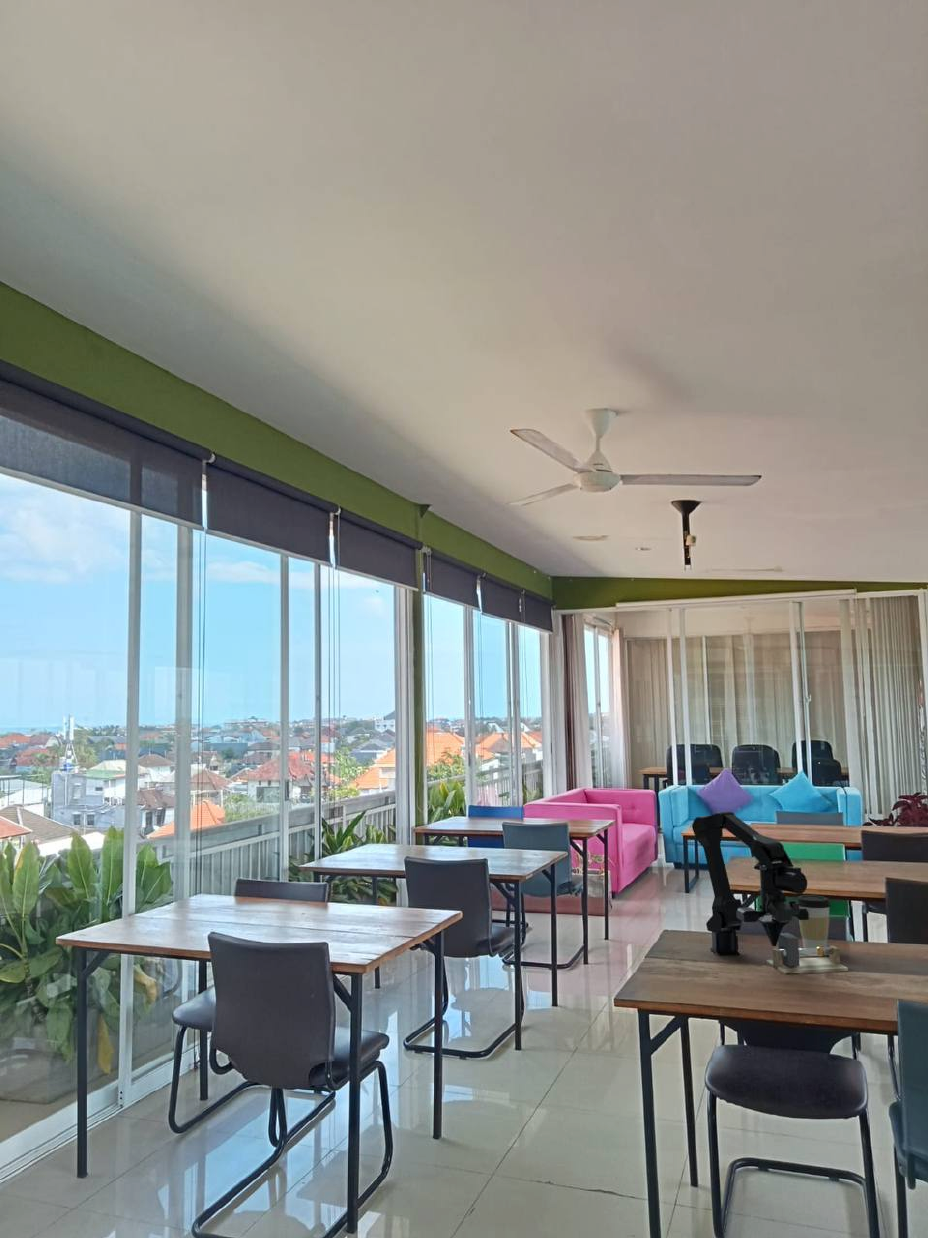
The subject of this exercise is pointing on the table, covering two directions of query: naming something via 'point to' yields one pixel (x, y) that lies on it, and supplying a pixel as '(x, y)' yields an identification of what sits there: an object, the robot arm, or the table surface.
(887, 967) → the table surface
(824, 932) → the coffee cup
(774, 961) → the stand
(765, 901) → the robot arm
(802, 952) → the rod
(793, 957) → the collar
